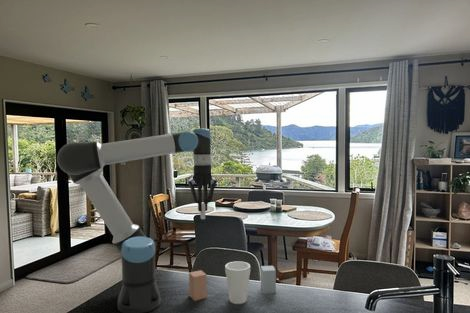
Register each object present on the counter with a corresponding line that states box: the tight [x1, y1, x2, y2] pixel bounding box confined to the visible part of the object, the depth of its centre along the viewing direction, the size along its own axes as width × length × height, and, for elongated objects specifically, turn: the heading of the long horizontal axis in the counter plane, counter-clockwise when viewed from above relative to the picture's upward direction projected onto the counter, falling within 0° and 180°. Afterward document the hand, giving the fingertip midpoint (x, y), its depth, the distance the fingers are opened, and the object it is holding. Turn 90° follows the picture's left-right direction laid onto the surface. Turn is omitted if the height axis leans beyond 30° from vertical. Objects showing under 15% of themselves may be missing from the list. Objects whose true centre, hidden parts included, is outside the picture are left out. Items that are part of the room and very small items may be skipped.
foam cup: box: [224, 260, 251, 305], centre depth 122 cm, size 10×9×13 cm
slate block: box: [260, 265, 277, 294], centre depth 130 cm, size 5×5×9 cm
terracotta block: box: [188, 269, 208, 302], centre depth 125 cm, size 5×5×9 cm
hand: (202, 218), depth 142 cm, fingers closed
